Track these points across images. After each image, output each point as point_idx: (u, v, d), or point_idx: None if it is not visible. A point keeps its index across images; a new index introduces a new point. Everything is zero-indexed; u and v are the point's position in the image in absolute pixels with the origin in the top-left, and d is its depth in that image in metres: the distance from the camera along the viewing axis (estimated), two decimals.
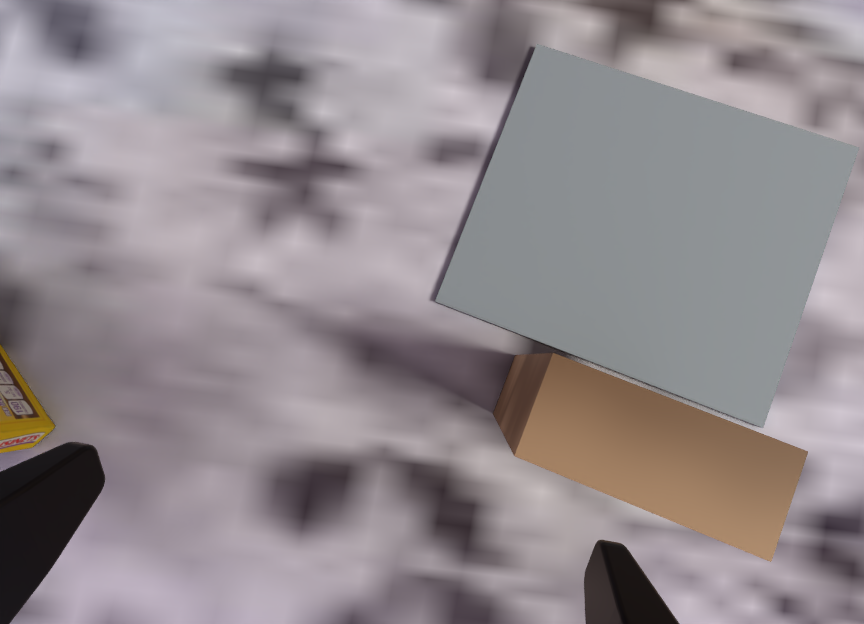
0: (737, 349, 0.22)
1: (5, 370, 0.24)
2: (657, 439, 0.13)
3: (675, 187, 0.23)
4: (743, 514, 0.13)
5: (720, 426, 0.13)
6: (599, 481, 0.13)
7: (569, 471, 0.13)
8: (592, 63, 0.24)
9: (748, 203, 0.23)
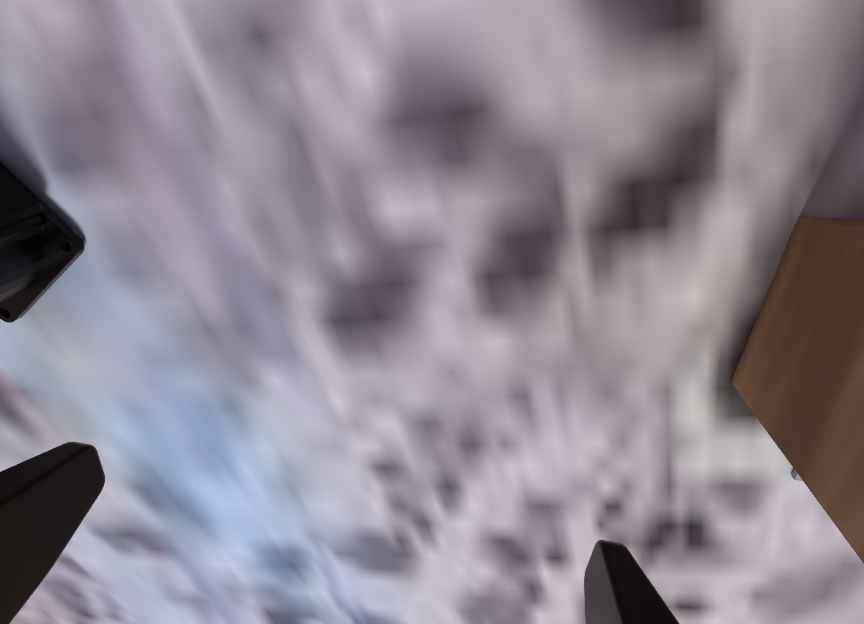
0: None
1: None
2: None
3: None
4: None
5: None
6: None
7: None
8: None
9: None
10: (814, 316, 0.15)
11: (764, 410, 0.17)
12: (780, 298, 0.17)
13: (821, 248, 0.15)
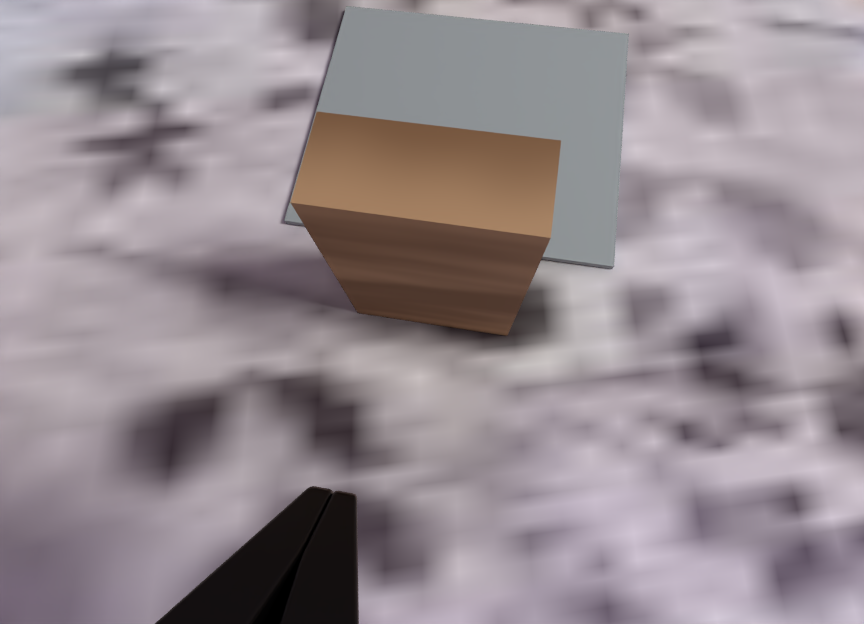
0: (572, 205, 0.23)
1: None
2: (424, 159, 0.13)
3: (486, 88, 0.26)
4: (515, 203, 0.13)
5: (479, 137, 0.13)
6: (376, 206, 0.13)
7: (344, 202, 0.13)
8: (396, 12, 0.28)
9: (550, 89, 0.26)
10: (404, 302, 0.20)
11: (501, 318, 0.20)
12: (414, 316, 0.22)
13: (363, 303, 0.21)
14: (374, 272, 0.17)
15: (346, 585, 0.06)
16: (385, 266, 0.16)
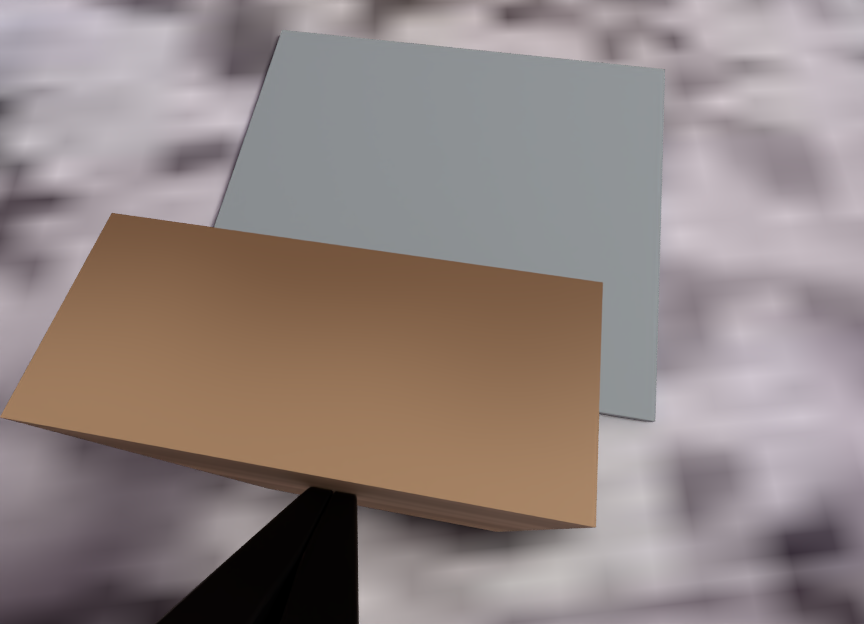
0: None
1: None
2: (313, 319, 0.06)
3: (468, 146, 0.18)
4: (509, 431, 0.06)
5: (433, 272, 0.06)
6: (191, 431, 0.06)
7: (120, 422, 0.06)
8: (348, 38, 0.20)
9: (558, 147, 0.18)
10: None
11: (487, 527, 0.12)
12: None
13: (270, 487, 0.13)
14: (259, 479, 0.10)
15: (346, 585, 0.06)
16: (271, 480, 0.09)
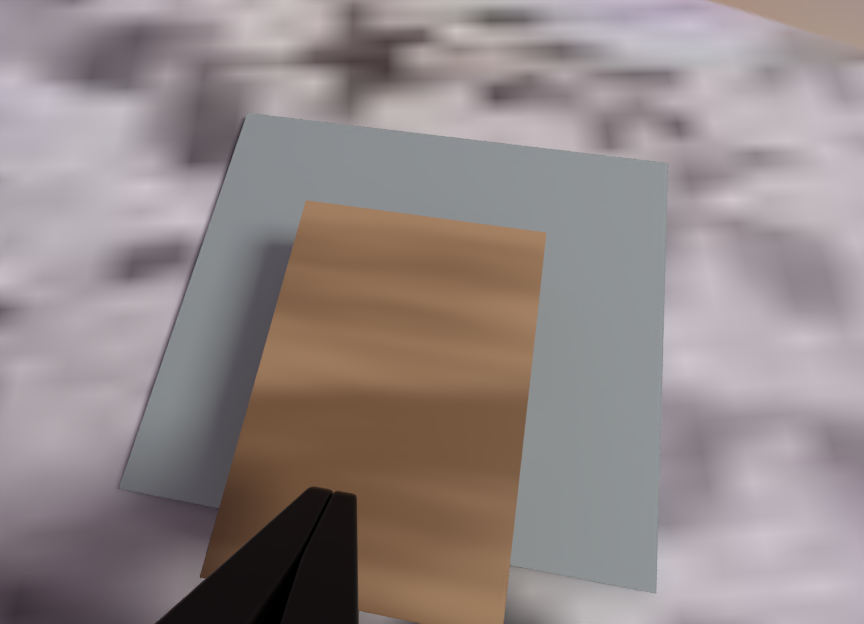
0: (584, 469, 0.14)
1: None
2: None
3: None
4: None
5: None
6: None
7: None
8: (319, 123, 0.19)
9: (549, 256, 0.16)
10: (331, 473, 0.12)
11: (493, 515, 0.11)
12: None
13: (244, 504, 0.12)
14: (326, 353, 0.13)
15: (346, 585, 0.06)
16: (350, 329, 0.13)
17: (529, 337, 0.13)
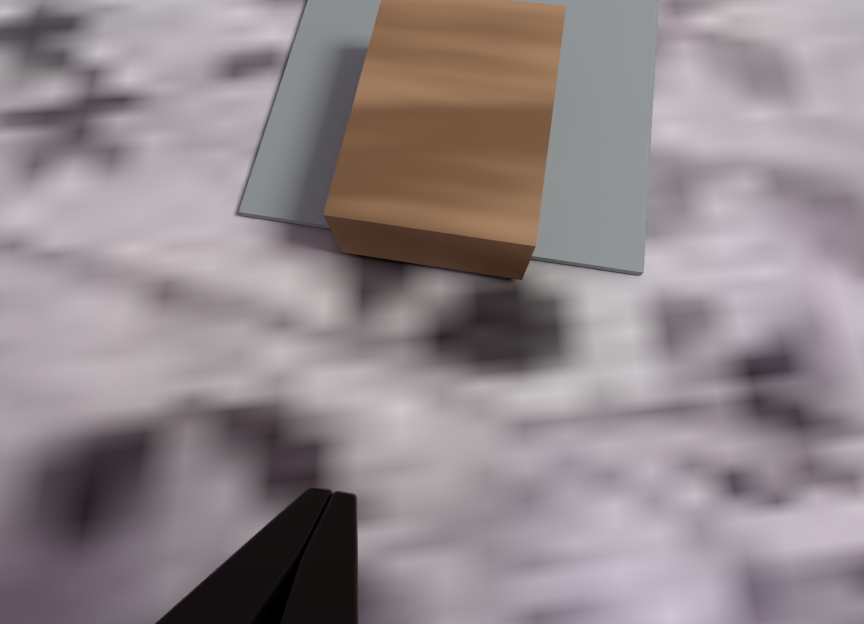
0: (591, 196, 0.19)
1: None
2: None
3: None
4: None
5: None
6: None
7: None
8: None
9: (565, 56, 0.21)
10: (412, 154, 0.16)
11: (529, 176, 0.16)
12: (410, 204, 0.16)
13: (351, 173, 0.16)
14: (405, 82, 0.17)
15: (346, 585, 0.06)
16: (422, 67, 0.17)
17: (553, 72, 0.17)
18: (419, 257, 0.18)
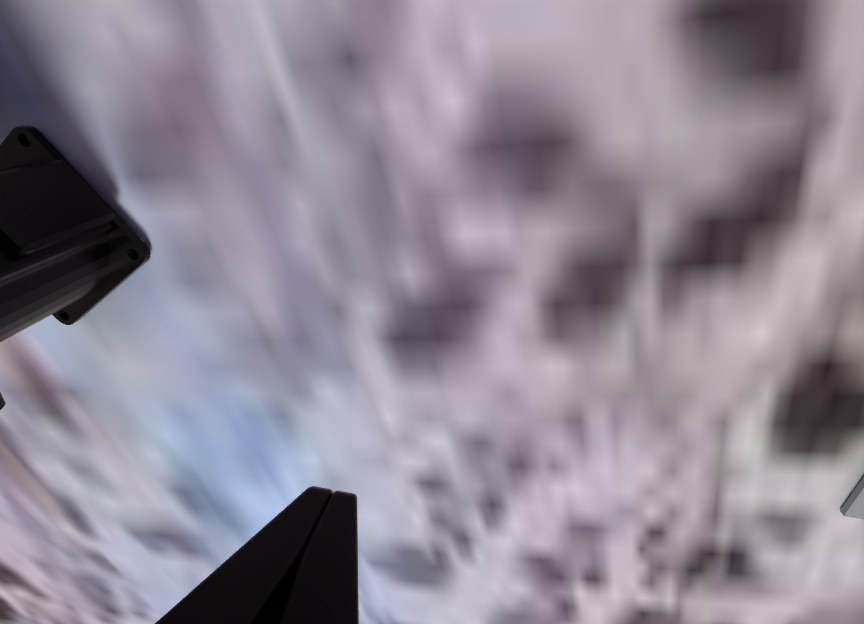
0: None
1: None
2: None
3: None
4: None
5: None
6: None
7: None
8: None
9: None
10: None
11: None
12: None
13: None
14: None
15: (346, 585, 0.06)
16: None
17: None
18: None
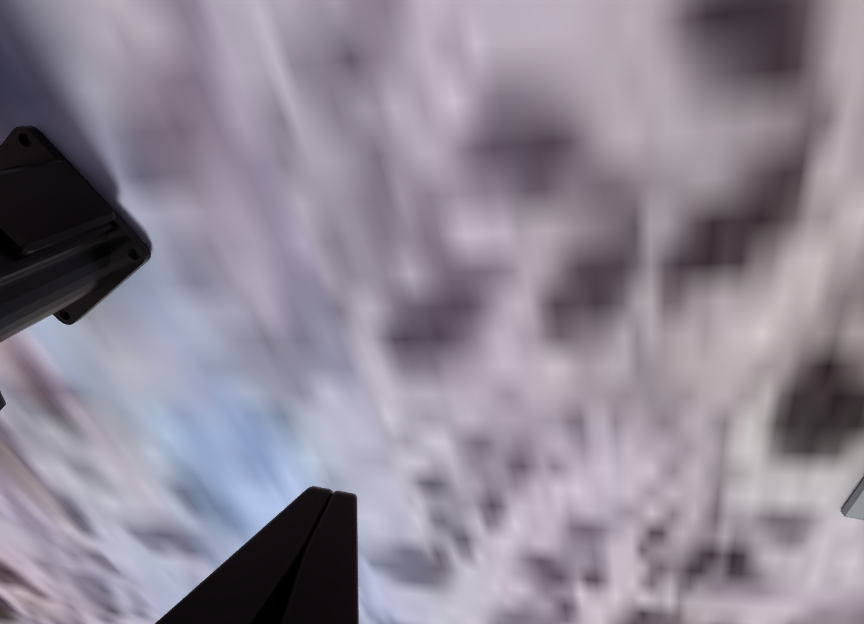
0: None
1: None
2: None
3: None
4: None
5: None
6: None
7: None
8: None
9: None
10: None
11: None
12: None
13: None
14: None
15: (346, 585, 0.06)
16: None
17: None
18: None
